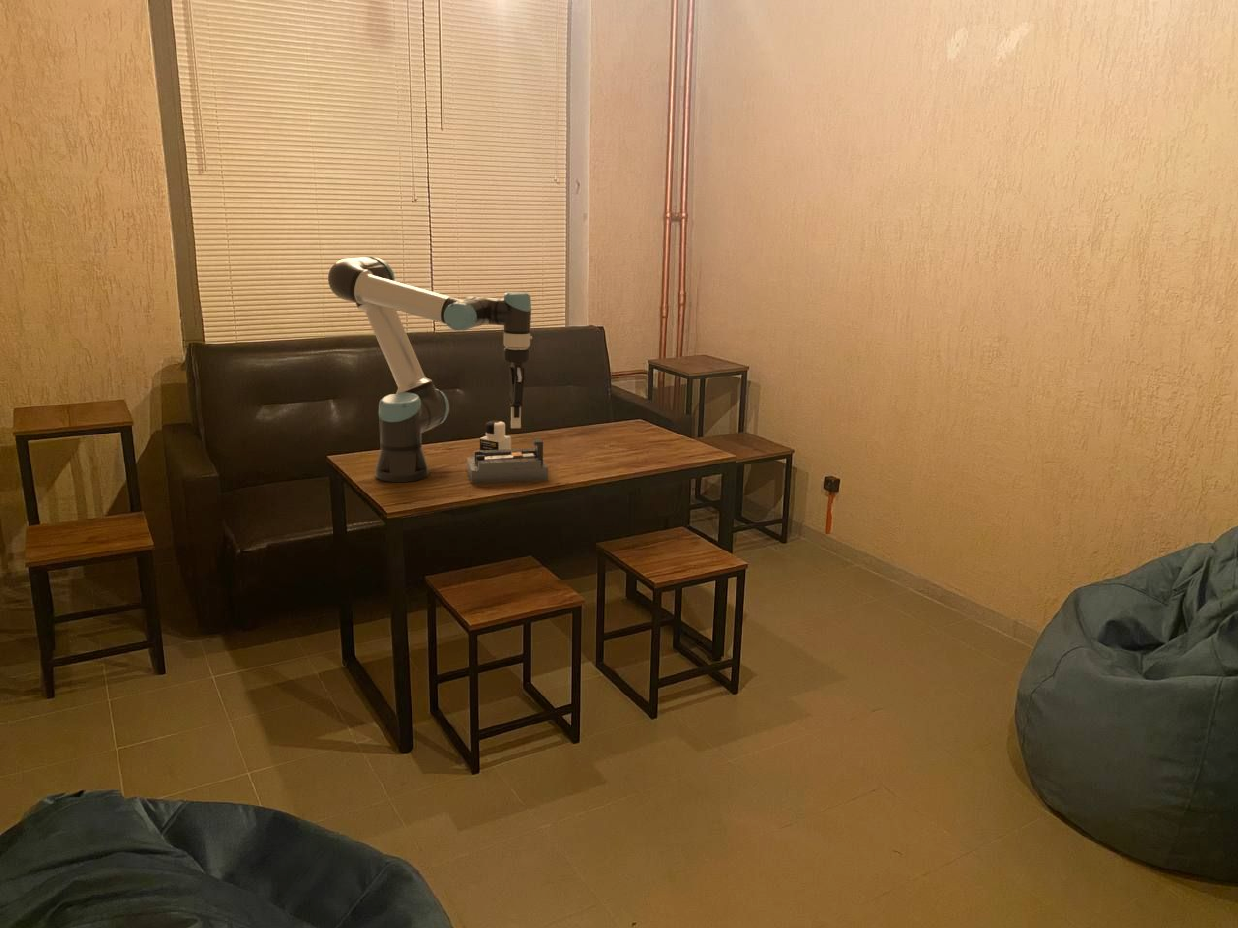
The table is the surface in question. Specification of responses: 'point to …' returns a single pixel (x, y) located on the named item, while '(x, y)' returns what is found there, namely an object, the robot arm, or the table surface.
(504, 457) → the strap
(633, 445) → the table surface
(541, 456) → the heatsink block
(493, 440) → the medicine bottle
